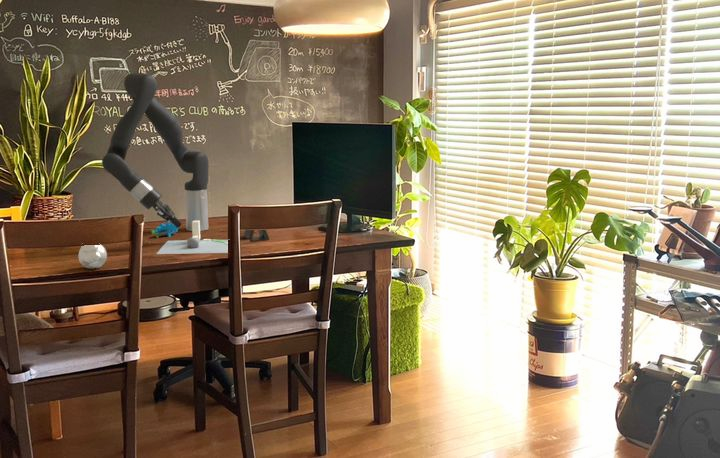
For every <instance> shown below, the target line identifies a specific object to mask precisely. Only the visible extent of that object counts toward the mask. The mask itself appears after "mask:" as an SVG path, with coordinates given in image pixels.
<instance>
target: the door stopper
mask: <svg viewBox="0 0 720 458" xmlns="http://www.w3.org/2000/svg"><path fill="white" fill-rule="evenodd" d="M257 232H258V234H259V235H258V236H256V237H255V236H254V233H255V229H254V230H246V229H245V230H244V234H243V237H244V238H246V239H248V240H249V241H253V242H261V240H262V241H269V240H270V238H269V234H268V232H267V229H266V230H258V229H257Z"/></svg>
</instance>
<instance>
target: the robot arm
mask: <svg viewBox="0 0 720 458" xmlns="http://www.w3.org/2000/svg"><path fill="white" fill-rule="evenodd" d="M123 85H124V90H125V92H126V93H127V95H128V96H129V97H130V98H131V99H132V100H133V102H132V104H131V106H130V107H129V109H128V110H127V111H126V113H124V114H123V116H121V118H120V119H119V120H118V122H117V123H116V125H115V128H114V130H113V133H112V135H111V139H110V142H109V146H108V149H107V151H106V154H105V155H104V156H103V157H102V160H101V164H102V167H103V169H104V171H106V172H107V173H108V174H110V175H111V176H112V177H114V178H115V179H116V180H117V181H118V182H119V183H120V184H121V186H122V187H123V188H124V189H126V190H127V191H128V192H129V193H130V194H131V196H132V197H133V198H134V199H135V200H136V201H138V203H140V205H142V206H143V207H144V208H145V209H146V210H150V209H151V208H153V210H154V212H155V213H156V215H157V216H159V217H160V218H162V219H164V220H165V221H166V222H167V221H169V222H170V223H171V222H172V223H173V224H174V225H175V226H176V227H177V228H179V229H180V227H182V225H183V223H182V221H180V220H179V219H178V218H177V217H176V214H175V213H174V211H173V209H172V208H170V206H169V205H168V204H166V202H164V201H163V202H162V201H161V200H160V199H161V198H162V194H161V193H160V192H159V191H158V190H157V189H155V187H153V185H151V183H149V182H148V181H147V180H145V179H144V178H143V177H142V176H141V175H139V174H138V173H137V172H136V171H135V170H134V169H133V168H132V167H130V166H129V164H128V163H127V162H126V161H125V160H126V157H127V152H128V150H129V149H130V148H129V147H130V146H131V143H132V141H133V137H134V135H135V133H136V131H137V128H138V125H139V124H140V121H141V120H142V118H143V117H144V115H145V116H146V118H147V119H148V121H149V122H150V124H152V126H153V127H154V130H155V131H156V132H157V133H158V135H159V136H160V137H161V138H162V140H163V141H164V144H166V146H167V147H168V149H169V150H170V152H171V154H172V155H173V157H174V159H175V160H176V162H177V165H178V166H179V168H180V169H181V171H183V172H184V173H187V174H192V178H191V179H190V180H189V181H186V182H185V183H184V201H185V202H184V204H185V205H184V206H185V227H186V228H185V229H186V231H189V232H192V222H193V221H196V220H200V232H202V231H208V230H209V207H208V205H209V204H208V203H209V202H208V183H209V168H210V167H209V164H210V163H209V159H208V156H207V154H206V153H205V152H204V151H194V150H193V151H192V150H190V149H188V147H187V146H186V145H185V143H184V141H183V127H182V125H181V123H180V122H179V120H178V119H177V117H176V116H175V114H174V113H173V112H172V111H171V110H169V109H168V108H167V107H166V106H165V105H163V103H161V102H160V101H159V100H157V99H156V98H155V95H156V93H157V90H158V81H157V78H155V77H154V76H153V75H151V74H148V73H140V72H139V73H138V72H133V73H129V74H127V75H126V76H125V77H124V80H123Z"/></svg>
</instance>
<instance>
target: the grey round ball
mask: <svg viewBox="0 0 720 458" xmlns="http://www.w3.org/2000/svg"><path fill="white" fill-rule="evenodd" d="M99 244H100V245H84V246H80V249H79V251H78V261H79V263H80V264H81V265H82V266H83V267H84V268H86V269H89V270H91V269H92V270H96V269H98V268H101V267H102V266H103V265H104V264H105V263H106V261H107V257H108V254H107V253H108V252H107V249H106V247H104V245H102V244H101V243H99ZM95 268H96V269H95Z"/></svg>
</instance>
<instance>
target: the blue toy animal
mask: <svg viewBox="0 0 720 458" xmlns="http://www.w3.org/2000/svg"><path fill="white" fill-rule="evenodd" d="M178 229H180V227H179V228H177V227H176V226H175V225H174V224H173V223H172V222H171V221H167V220H166V221H165V224H164V223H160V224H159V226H156V227H155V230H154V229H152V230H151V234H152V235H154V237H155V238H158V239H159V237H162V236H167V237H168V238H171V237H172V236H171V235H175V234H174V233H177V232H178Z"/></svg>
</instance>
